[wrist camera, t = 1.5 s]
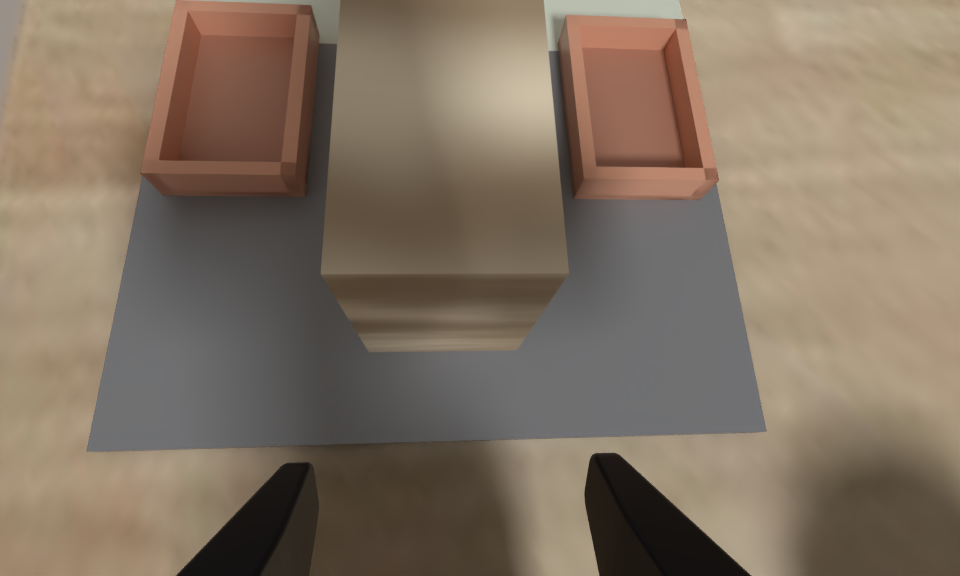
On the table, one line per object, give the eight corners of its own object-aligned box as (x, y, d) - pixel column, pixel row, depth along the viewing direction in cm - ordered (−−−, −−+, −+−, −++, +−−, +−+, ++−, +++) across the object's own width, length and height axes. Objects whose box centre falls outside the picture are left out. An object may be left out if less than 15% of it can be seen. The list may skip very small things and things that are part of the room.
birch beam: (517, 350, 21) (569, 273, 13) (368, 352, 21) (320, 274, 12) (499, 41, 26) (529, -160, 18) (381, 37, 26) (352, -171, 17)
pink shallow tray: (699, 200, 24) (718, 180, 23) (573, 199, 24) (583, 178, 22) (670, 47, 27) (685, 19, 25) (557, 43, 27) (566, 14, 25)
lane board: (757, 432, 22) (799, 428, 19) (96, 452, 19) (47, 449, 17) (656, -84, 31) (674, -131, 29) (207, -109, 29) (186, -161, 27)
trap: (305, 196, 23) (295, 175, 21) (163, 195, 22) (140, 173, 21) (319, 35, 26) (311, 5, 24) (193, 31, 25) (175, -1, 23)
